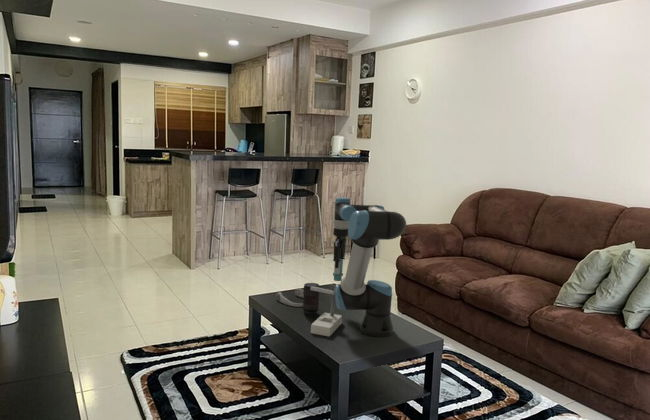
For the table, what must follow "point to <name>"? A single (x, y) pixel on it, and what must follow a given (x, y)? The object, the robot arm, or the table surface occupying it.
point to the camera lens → (310, 299)
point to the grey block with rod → (327, 321)
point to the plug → (338, 276)
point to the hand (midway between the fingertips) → (338, 272)
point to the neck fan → (284, 300)
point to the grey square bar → (323, 290)
